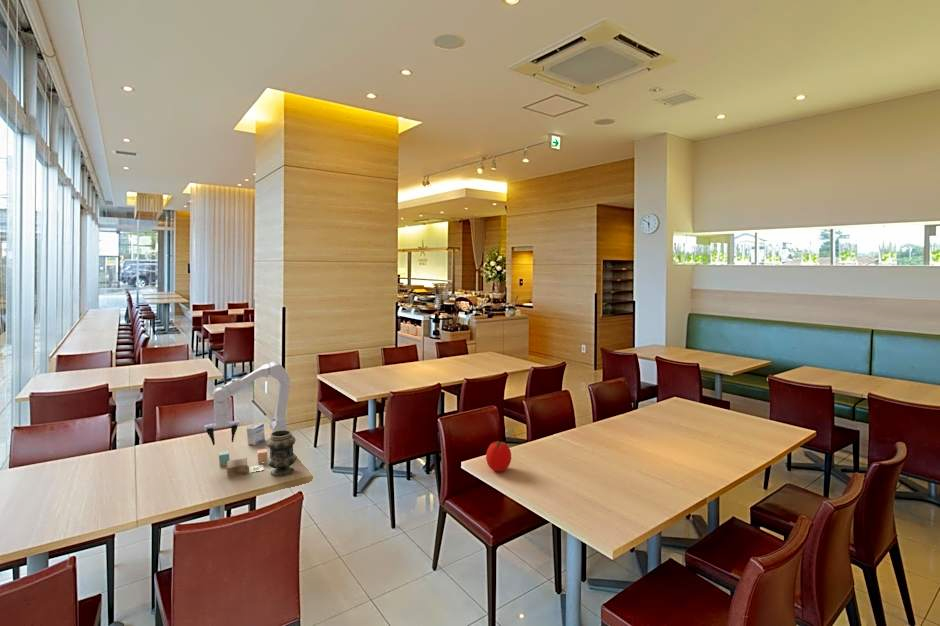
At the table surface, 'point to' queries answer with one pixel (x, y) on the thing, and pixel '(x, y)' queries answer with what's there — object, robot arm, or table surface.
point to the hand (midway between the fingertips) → (223, 442)
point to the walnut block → (237, 467)
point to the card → (255, 468)
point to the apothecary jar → (281, 453)
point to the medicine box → (255, 434)
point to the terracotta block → (262, 455)
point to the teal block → (223, 457)
